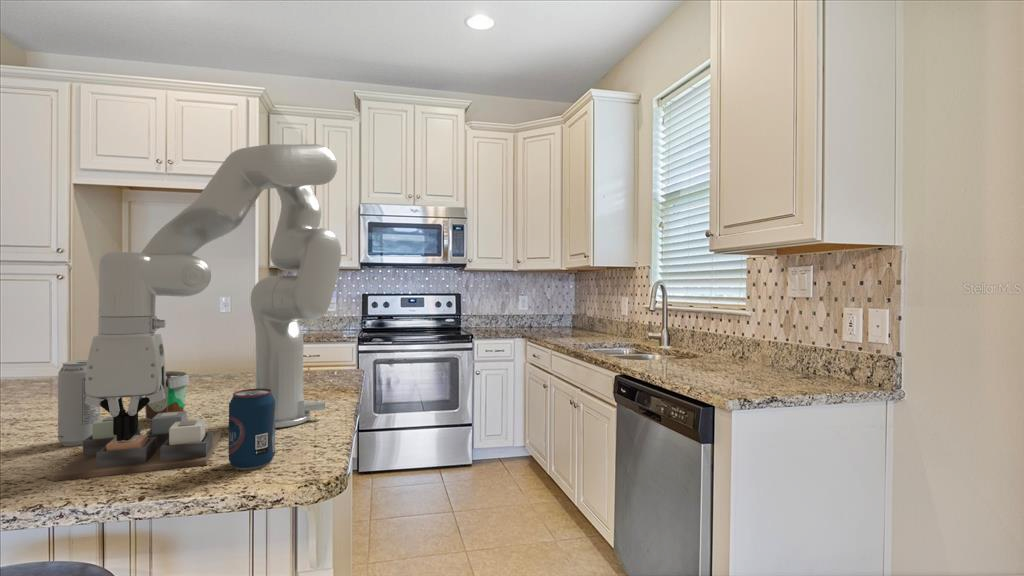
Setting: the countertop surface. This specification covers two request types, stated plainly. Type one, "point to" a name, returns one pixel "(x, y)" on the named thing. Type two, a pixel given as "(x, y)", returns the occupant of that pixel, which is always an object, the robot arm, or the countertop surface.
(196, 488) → the countertop surface
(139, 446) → the terracotta key
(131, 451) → the keypad
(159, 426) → the slate key
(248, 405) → the soda can
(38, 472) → the countertop surface
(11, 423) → the countertop surface
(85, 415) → the energy drink can
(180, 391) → the food container
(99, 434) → the sage key
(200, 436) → the ivory key
